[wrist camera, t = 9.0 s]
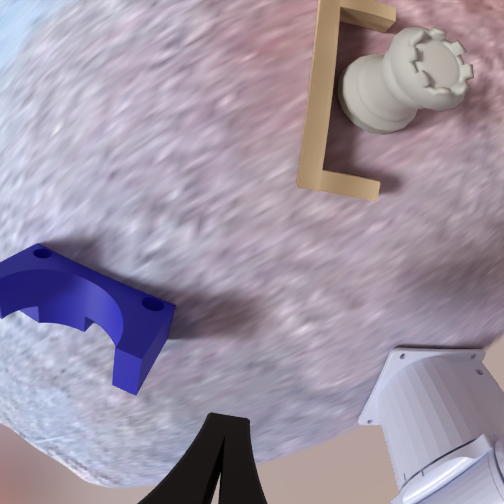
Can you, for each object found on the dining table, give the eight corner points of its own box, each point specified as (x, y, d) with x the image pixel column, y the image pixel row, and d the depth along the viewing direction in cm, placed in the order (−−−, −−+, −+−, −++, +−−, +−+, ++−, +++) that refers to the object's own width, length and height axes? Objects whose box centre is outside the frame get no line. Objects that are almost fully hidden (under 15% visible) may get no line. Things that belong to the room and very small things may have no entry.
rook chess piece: (319, 79, 14) (352, 23, 7) (382, 49, 13) (447, -8, 6) (362, 148, 15) (429, 149, 8) (422, 115, 14) (510, 102, 7)
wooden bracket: (384, 19, 12) (395, 7, 11) (365, 195, 16) (376, 201, 14) (317, 4, 13) (321, -12, 11) (295, 183, 16) (298, 187, 14)
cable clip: (37, 291, 20) (-9, 326, 15) (38, 242, 19) (-16, 270, 13) (164, 353, 21) (134, 410, 15) (176, 304, 19) (142, 359, 14)
